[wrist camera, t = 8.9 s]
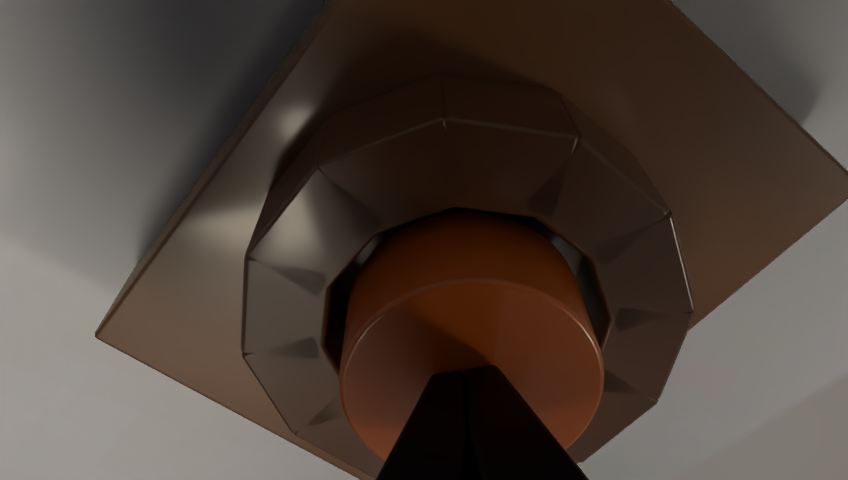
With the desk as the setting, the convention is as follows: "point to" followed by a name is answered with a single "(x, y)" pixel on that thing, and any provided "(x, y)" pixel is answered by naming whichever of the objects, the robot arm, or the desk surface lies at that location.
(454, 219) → the button
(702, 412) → the desk surface
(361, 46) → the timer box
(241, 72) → the desk surface
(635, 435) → the desk surface
